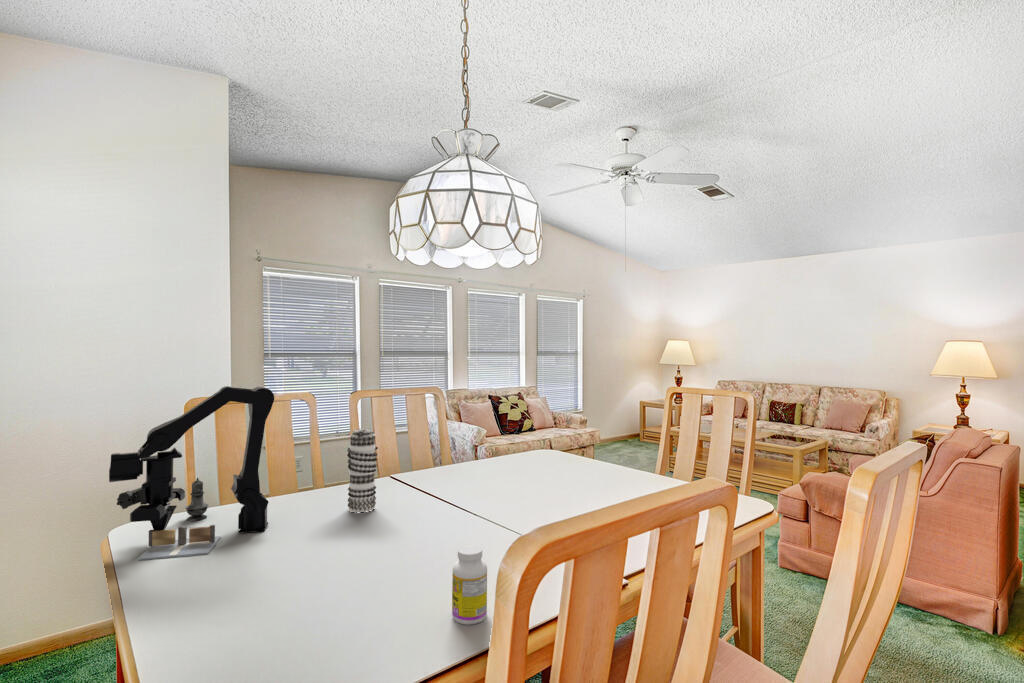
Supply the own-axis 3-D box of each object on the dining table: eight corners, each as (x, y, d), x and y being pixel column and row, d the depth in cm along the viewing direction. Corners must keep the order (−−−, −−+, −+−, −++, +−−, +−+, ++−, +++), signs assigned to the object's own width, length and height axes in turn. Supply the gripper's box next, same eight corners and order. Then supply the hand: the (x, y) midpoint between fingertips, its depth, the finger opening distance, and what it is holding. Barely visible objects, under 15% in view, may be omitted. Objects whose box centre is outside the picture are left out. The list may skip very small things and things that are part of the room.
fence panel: (175, 542, 132) (175, 527, 132) (173, 544, 131) (174, 529, 131) (149, 544, 130) (149, 529, 130) (147, 546, 129) (148, 531, 129)
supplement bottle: (452, 608, 102) (453, 543, 102) (486, 607, 102) (486, 542, 102) (451, 627, 95) (452, 556, 95) (487, 625, 96) (488, 555, 96)
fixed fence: (215, 542, 135) (215, 523, 135) (213, 544, 133) (213, 525, 133) (179, 545, 133) (179, 526, 133) (176, 547, 131) (177, 528, 131)
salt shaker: (197, 522, 150) (198, 480, 150) (180, 520, 151) (180, 479, 151) (213, 515, 155) (213, 475, 156) (196, 514, 157) (196, 474, 157)
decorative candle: (351, 504, 168) (352, 427, 168) (379, 504, 168) (380, 427, 168) (342, 513, 159) (343, 432, 159) (373, 513, 159) (374, 432, 159)
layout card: (220, 537, 138) (220, 535, 138) (208, 554, 127) (208, 552, 127) (156, 542, 134) (156, 541, 134) (137, 560, 123) (137, 558, 123)
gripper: (139, 469, 139) (138, 527, 139) (104, 488, 121) (103, 555, 121) (185, 467, 142) (185, 523, 142) (159, 485, 124) (158, 550, 124)
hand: (158, 537), depth 132 cm, fingers closed
